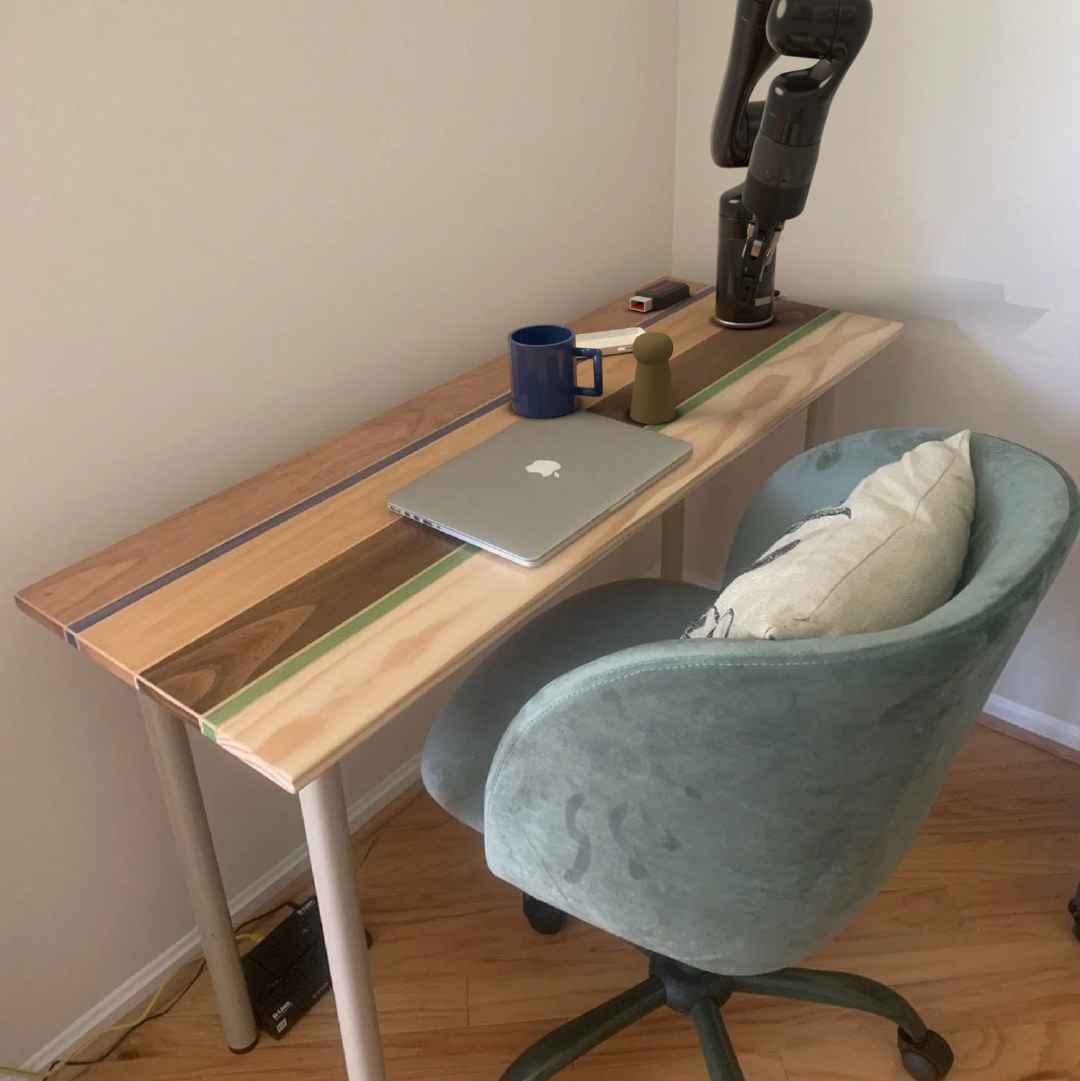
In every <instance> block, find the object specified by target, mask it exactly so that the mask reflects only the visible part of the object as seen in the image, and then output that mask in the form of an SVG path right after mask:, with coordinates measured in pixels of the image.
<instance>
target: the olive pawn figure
mask: <svg viewBox="0 0 1080 1081" xmlns="http://www.w3.org/2000/svg"><path fill="white" fill-rule="evenodd" d="M632 349H633V351H632V354H633V358H635V360H636V365H635V366H636V367H635V373H634V381H633V386H632V387H633V388H632V396H631V403H630V410H629V417H630V419H631V420H633V421H634V422H637V423H640V424H646V425H657V424H660V425H661V424H664V423H668V422H671V421H672V420H674V418H676V414H677V413H676V408H675V399H674V390H673V384H672V383H673V382H672V375H671V367H670V366H671V365H670V359H671V358H672V356H673V352H674V343H673V340H672V338H671V337H670V336H669V335H668V334H666V333H663V332H657V331H649V332H646V333H643V334H641V335H639V336H637V337H636V339H635V341H634V343H633V347H632Z"/></svg>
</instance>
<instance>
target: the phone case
mask: <svg viewBox="0 0 1080 1081" xmlns="http://www.w3.org/2000/svg"><path fill="white" fill-rule="evenodd" d="M643 333H647V331H646V330H644V328H642V327H640V326H638V327H637V326H636V327H635V326H634V327H628V328H619V329H612V330H604V331H595V332H588V333H580V334H576V347H581V348H595V349H600V350H601V351H602V356H609V355H617V354H624V353H630V352H632V353H633V343H634V341H635V339H636V337H637V336H639V335H641V334H643ZM586 358H587V357H577V356H576V359H577V360H578V359H586Z"/></svg>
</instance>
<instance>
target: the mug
mask: <svg viewBox="0 0 1080 1081" xmlns="http://www.w3.org/2000/svg"><path fill="white" fill-rule="evenodd" d="M576 335H577V333H576V331H575V330H574V329H573V328H571V327H568V326H566V325H561V324H553V323H552V324H551V323H548V324H547V323H545V324H544V323H543V324H542V323H541V324H532V325H525V326H522V327H519V328H517V329H514V330H512V331H511V332H510V333H508V335H507V350H508V364H509V379H510V380H509V381H510V393H511V405H512V410H513V411H514V412H515V413H516V414H518V415H520V416H523V417H526V418H533V419H549V418H550V419H551V418H557V417H561V416H565V415H568V414H570V413H572V412H574V411H575V410H576V409H577V408H578V405H579V396H580V397H592V398H593V397H594V398H601V397H602V396H603V395H604V375H603V373H604V370H603V368H604V367H603V355H602V351H601V350H600V349H595V348H581V347H576ZM576 356H577V357H586V358H590V359H591V358H592V362H593V364H592V367H593V369H592V370H593V386H592V387H590V386H579V385H578V364H577V363H578V362H577V360H578V359H576Z"/></svg>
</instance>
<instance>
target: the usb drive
mask: <svg viewBox="0 0 1080 1081" xmlns="http://www.w3.org/2000/svg"><path fill="white" fill-rule="evenodd" d="M689 297H690V286H689V285H688V284H687V283H686V282H681V281H675V280H671V279H664V280H661V281H659V282H657V283H654V284H652V285H649V286H647V287H645V288H642V289H640V290H638V291H636V292H635V293H634V296H633V297H630V298H629V304H628V305H629V308H628V309H629V310H632V311H633V310H634V311H639V312H643V313H647V312H649V311H660V310H663V309H665V308H667V307H669V306H671V305H674V304H676V303H678V302H680V301H683V300H685V299H687V298H689Z"/></svg>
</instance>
